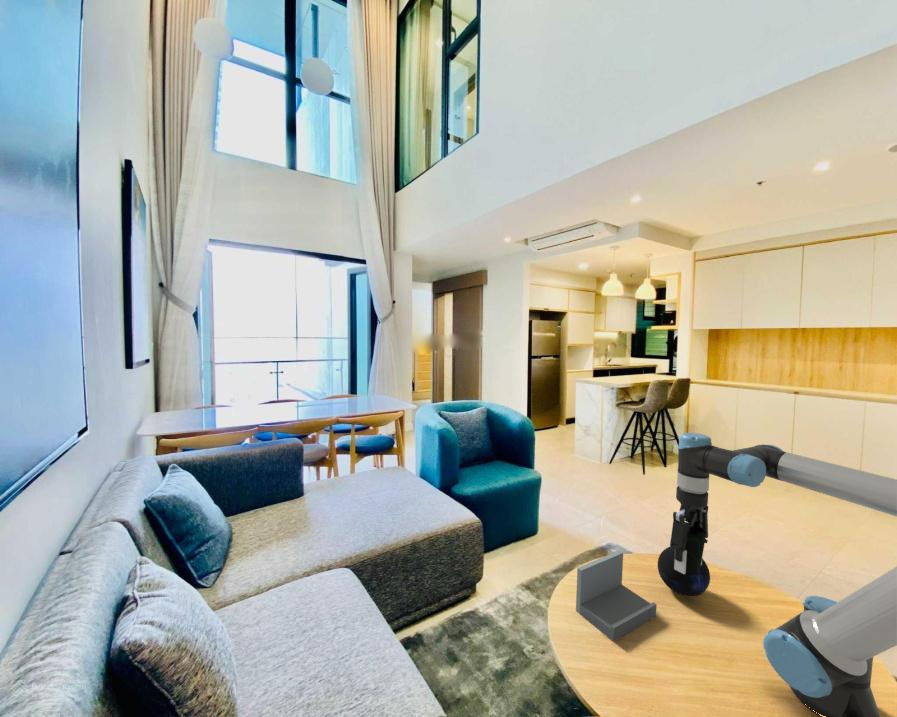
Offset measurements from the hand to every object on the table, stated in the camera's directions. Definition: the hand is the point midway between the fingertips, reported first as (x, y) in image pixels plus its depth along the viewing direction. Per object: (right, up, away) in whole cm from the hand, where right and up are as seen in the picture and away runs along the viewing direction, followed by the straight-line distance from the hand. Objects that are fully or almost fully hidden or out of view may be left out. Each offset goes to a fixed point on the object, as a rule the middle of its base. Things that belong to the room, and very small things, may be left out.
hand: (688, 566), depth 107 cm
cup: (0, -1, 0) cm, 1 cm away
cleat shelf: (-16, -20, +10) cm, 28 cm away
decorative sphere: (+11, -20, +20) cm, 30 cm away
